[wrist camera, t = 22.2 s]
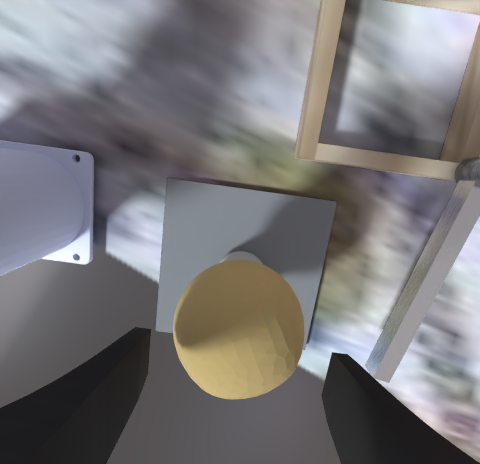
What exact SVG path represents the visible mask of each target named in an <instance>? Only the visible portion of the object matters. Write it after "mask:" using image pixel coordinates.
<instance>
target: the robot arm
mask: <svg viewBox="0 0 480 464" xmlns="http://www.w3.org/2000/svg"><path fill="white" fill-rule="evenodd" d="M77 155H79V157H80V161H79V162H77V160H76V156H77ZM93 198H94V158H93V156H92V155H91V154H90V153H88V152H83V151H76V150H69V149H62V148H55V147H47V146H40V145H33V144H26V143H19V142H12V141H5V140H0V276H2V275H4V274H6V273H9V272H11V271H13V270H15V269H17V268H20V267H22V266H24V265H27V264H29V263H31V262H34V261H36V260H38V259H48V260H56V261H63V262H70V263H78V264H88V263H89V262H91V261H92V259H93ZM76 254H78V255H79V256H80V259H79V258H77V257H76ZM150 334H151V329H145V328H138V327H135V328H134V329H132V330H131V331H129V332H128V333H126V334H125V335H124V336H122V337H121V338H119V339H118V340H117V341H115V342H114V343H112V344H111V345H110V346H108V347H107V348H105V349H104V350H102V351H101V352H100V353H98V354H97V355H95V356H94V357H92V358H91V359H89V360H88V361H86V362H85V363H83V364H81V365H80V366H78V367H77V368H75V369H73V370H72V371H70V372H69V373H67V374H66V375H64V376H62V377H60V378H59V379H57V380H55V381H54V382H52V383H50V384H48V385H46V386H44V387H42V388H40V389H39V390H37V391H35V392H33V393H31V394H29V395H27V396H25V397H23V398H21V399H19V400H17V401H15V402H12V403H10V404H8V405H6V406H4V407H2V408H0V464H106V463H107V461H108V459H109V457H110V455H111V453H112V451H113V449H114V447H115V444H116V443H117V441H118V439H119V437H120V435H121V433H122V431H123V429H124V427H125V425H126V423H127V421H128V419H129V417H130V415H131V413H132V411H133V409H134V407H135V405H136V403H137V401H138V399H139V396H140V393H141V391H142V388H143V385H144V383H145V380H146V377H147V374H148V363H149V348H150ZM322 400H323V405H324V409H325V414H326V418H327V422H328V426H329V429H330V432H331V435H332V438H333V441H334V444H335V447H336V450H337V453H338V456H339V459H340V462H341V464H480V463H479V462H477V461H476V460H474V459H473V458H471V457H470V456H469V455H467V454H466V453H464V452H463V451H461V450H460V449H459V448H457V447H456V446H455V445H453V444H452V443H451V442H449V441H448V440H447V439H445V438H444V437H443V436H441V435H440V434H439V433H437V432H436V431H435V430H433V429H432V428H431V427H430V426H428V425H427V424H426V423H425V422H423V421H422V420H421V419H420V418H419V417H417V416H416V415H415V414H414V413H413V412H411V411H410V410H409V409H408V408H407V407H405V406H404V405H403V404H402V403H401V402H400V401H399V400H397V399H396V398H395V397H394V396H393V395H392V394H391V393H390V392H388V391H387V390H386V389H385V388H384V387H383V386H382V385H381V384H380V383H379V382H377V381H376V380H375V379H374V378H373V377H372V376H371V375H370V374H369V373H368V372H367V371H366V370H365V369H363V368H362V367H361V366H360V365H359V364H358V363H357V362H356V361H355V360H354V359H352V358H351V357H350V356H349V355H348V354H341V353H333V352H332V355H331V359H330V363H329V367H328V371H327V375H326V380H325V384H324V388H323V392H322Z"/></svg>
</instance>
